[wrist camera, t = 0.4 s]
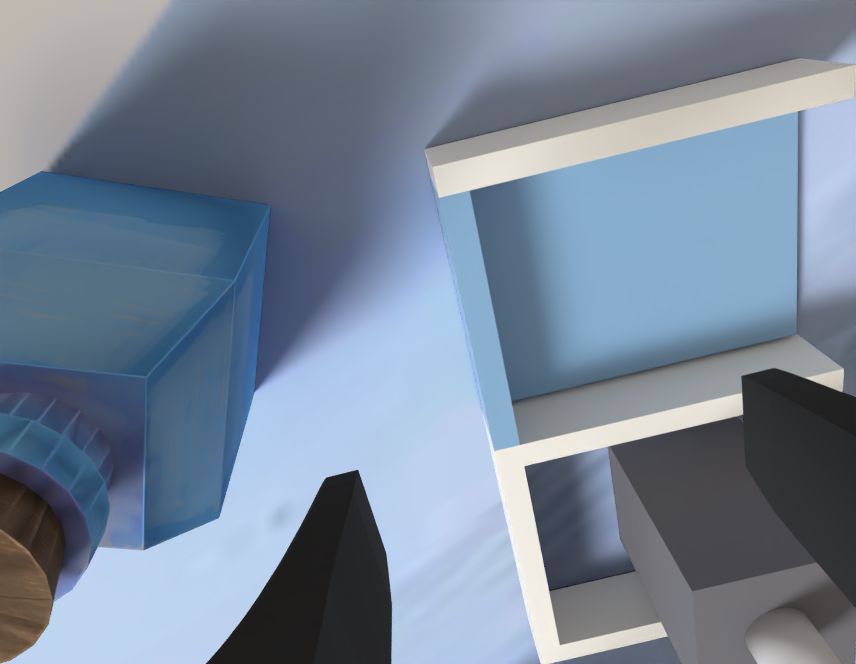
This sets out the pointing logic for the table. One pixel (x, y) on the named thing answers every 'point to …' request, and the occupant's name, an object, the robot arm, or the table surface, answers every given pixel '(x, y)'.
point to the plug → (723, 555)
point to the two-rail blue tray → (626, 291)
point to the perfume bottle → (116, 374)
